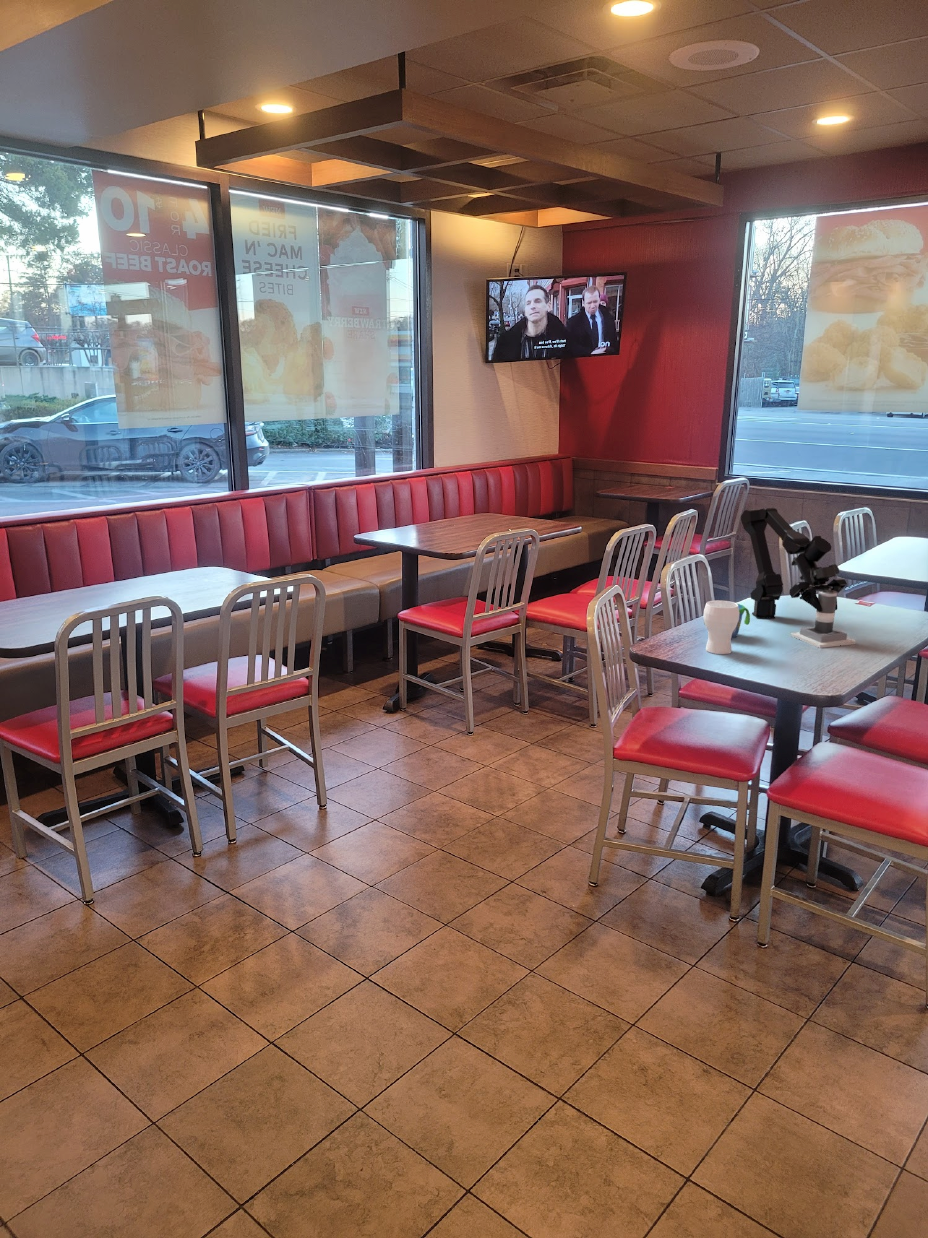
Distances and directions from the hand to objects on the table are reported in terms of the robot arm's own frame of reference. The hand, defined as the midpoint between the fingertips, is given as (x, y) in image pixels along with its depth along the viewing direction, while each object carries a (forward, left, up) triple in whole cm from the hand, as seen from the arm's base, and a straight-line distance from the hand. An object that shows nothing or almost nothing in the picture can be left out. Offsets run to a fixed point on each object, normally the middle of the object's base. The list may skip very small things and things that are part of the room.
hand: (828, 610), depth 287 cm
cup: (-37, -11, -10) cm, 40 cm away
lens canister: (0, +1, -7) cm, 7 cm away
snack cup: (-30, +6, -10) cm, 33 cm away
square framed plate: (0, +1, -10) cm, 10 cm away
